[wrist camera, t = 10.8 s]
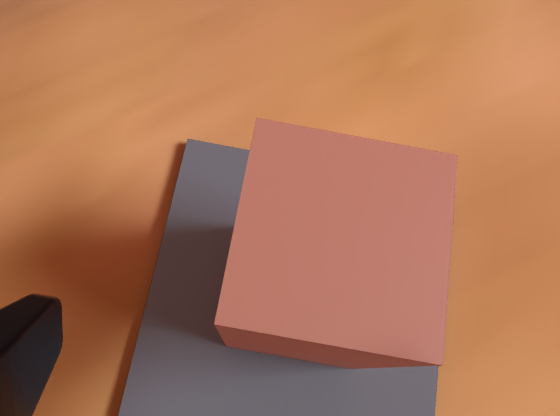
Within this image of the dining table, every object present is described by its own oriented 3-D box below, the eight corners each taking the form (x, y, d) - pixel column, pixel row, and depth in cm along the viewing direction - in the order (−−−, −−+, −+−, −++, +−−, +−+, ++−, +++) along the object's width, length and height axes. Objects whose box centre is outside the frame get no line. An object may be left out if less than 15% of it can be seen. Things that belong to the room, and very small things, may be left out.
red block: (350, 368, 21) (443, 365, 11) (226, 346, 21) (214, 323, 11) (365, 248, 22) (457, 154, 13) (249, 226, 22) (256, 117, 13)
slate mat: (425, 479, 20) (429, 482, 20) (118, 425, 20) (115, 426, 20) (447, 192, 24) (451, 188, 23) (188, 143, 24) (187, 138, 23)
